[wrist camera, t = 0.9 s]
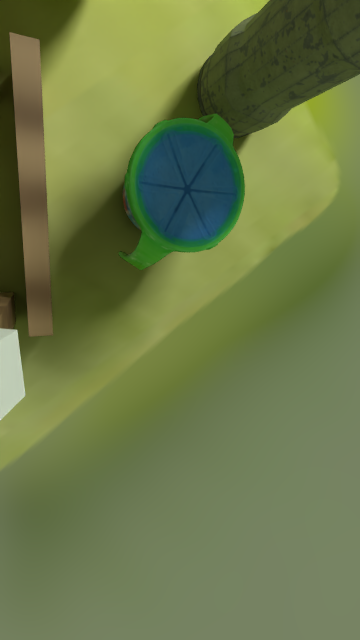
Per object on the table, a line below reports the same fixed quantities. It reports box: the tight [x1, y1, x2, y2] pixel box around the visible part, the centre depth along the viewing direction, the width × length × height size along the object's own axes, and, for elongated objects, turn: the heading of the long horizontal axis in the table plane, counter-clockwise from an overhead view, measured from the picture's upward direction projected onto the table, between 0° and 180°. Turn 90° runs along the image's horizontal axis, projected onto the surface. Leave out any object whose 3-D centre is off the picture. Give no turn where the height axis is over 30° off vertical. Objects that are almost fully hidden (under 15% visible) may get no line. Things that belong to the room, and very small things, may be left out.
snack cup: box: [119, 114, 245, 270], centre depth 32 cm, size 16×10×10 cm
